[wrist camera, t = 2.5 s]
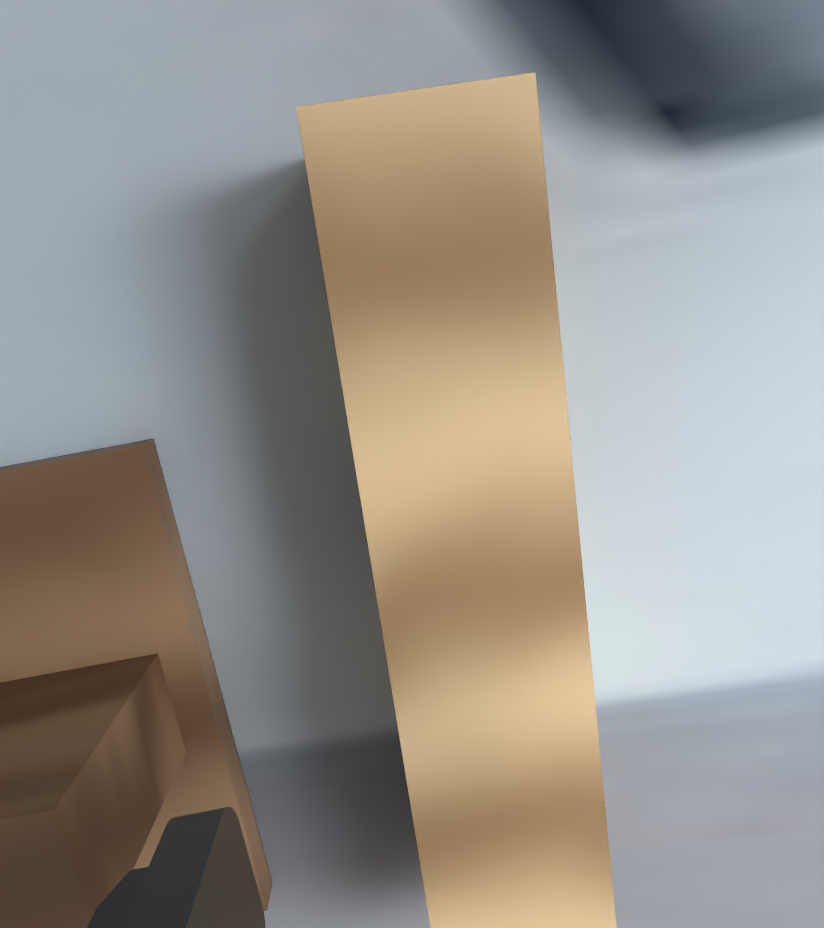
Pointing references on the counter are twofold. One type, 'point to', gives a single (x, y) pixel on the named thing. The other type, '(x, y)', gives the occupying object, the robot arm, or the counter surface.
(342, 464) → the counter surface
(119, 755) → the ridge stand
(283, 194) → the counter surface
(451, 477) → the oak batten
